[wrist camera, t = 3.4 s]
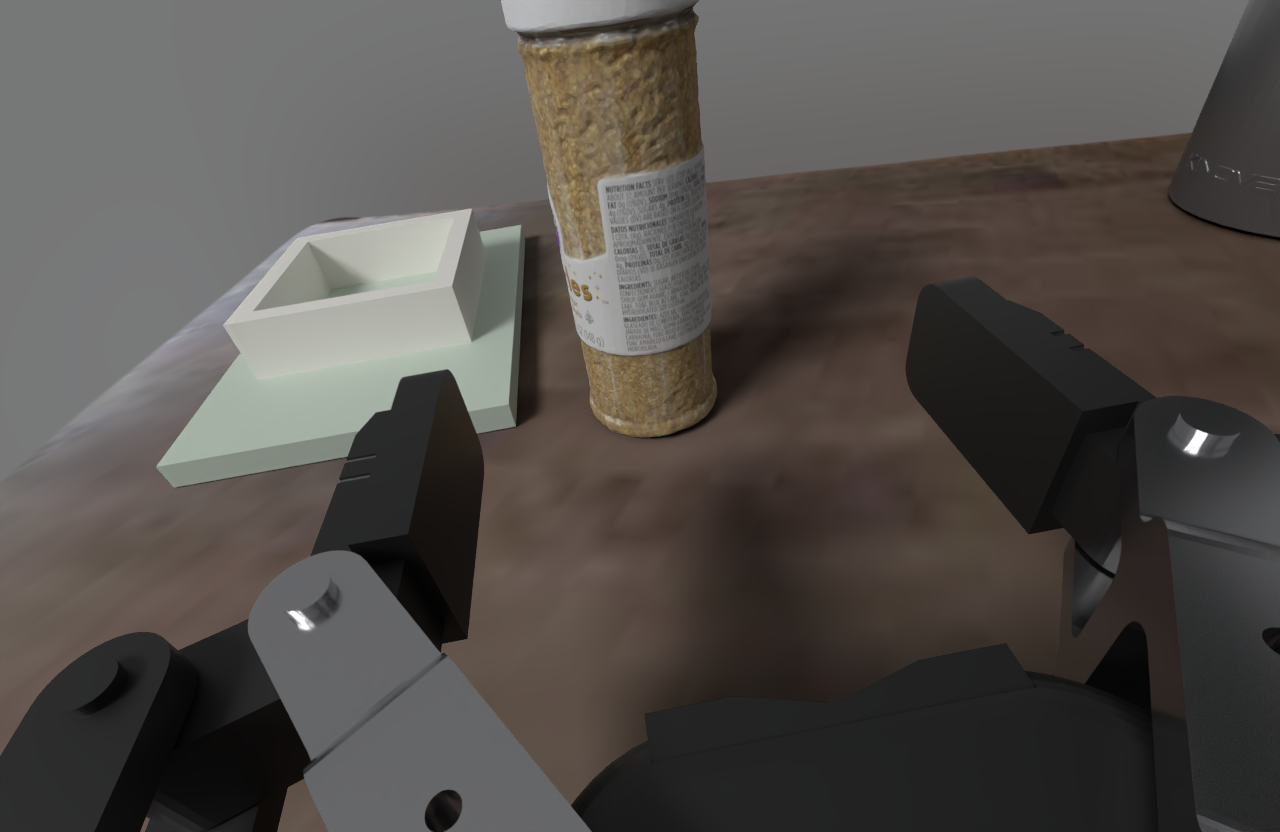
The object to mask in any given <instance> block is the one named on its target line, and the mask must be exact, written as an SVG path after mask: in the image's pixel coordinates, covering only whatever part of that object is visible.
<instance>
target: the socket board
mask: <svg viewBox="0 0 1280 832" xmlns="http://www.w3.org/2000/svg"><path fill="white" fill-rule="evenodd" d="M524 257H525V239H524V235H523V231H522V227H521V225H518V226H512V227H506V228H500V229H494V230H488V231H482V232H479V230H478V226H477V223H476V220H475V216H474V213H473V210H472V209H466V210H460V211H454V212H448V213H442V214H436V215H430V216H424V217H419V218H413V219H407V220H401V221H395V222H389V223H383V224H377V225H371V226H365V227H359V228H353V229H347V230H341V231H335V232H329V233H324V234H318V235H312V236H306V237H300V238H296V239H295V240H294V242H293V243H292V244H291V245H290V246H289V247H288V249H287V250H286V251H285V252H284V253H283V255H282V256H281V257H280V258H279V259H278V261H277V262H276V263H275V264H274V265H273V266H272V268H271V269H270V270H269V271H268V272H267V274H266V275H265V276H264V277H263V278H262V280H261V281H260V282H259V283H258V284H257V286H256V287H255V288H254V289H253V290H252V291H251V293H250V294H249V295H248V296H247V297H246V299H245V300H244V301H243V302H242V303H241V305H240V306H239V307H238V308H237V309H236V311H235V312H234V313H233V314H232V315H231V316H230V318H229V319H228V320H227V321H226V322H225V324H224V325H223V326H224V328H225V329H226V331H227V332H228V334H229V335H230V337H231V338H232V340H233V342H234V343H235V345H236V346H237V348H238V349H239V351H240V352H241V353H240V354H239V356H238V357H237V358H236V360H235V361H234V362H233V364H232V365H231V366H230V368H229V369H228V370H227V372H226V373H225V374H224V376H223V377H222V378H221V380H220V381H219V383H218V384H217V385H216V387H215V388H214V389H213V391H212V392H211V393H210V395H209V396H208V397H207V399H206V400H205V401H204V403H203V404H202V405H201V407H200V408H199V410H198V411H197V412H196V414H195V415H194V416H193V418H192V419H191V420H190V422H189V423H188V424H187V426H186V427H185V428H184V430H183V431H182V433H181V434H180V435H179V437H178V438H177V439H176V441H175V442H174V443H173V445H172V446H171V447H170V449H169V450H168V451H167V453H166V454H165V455H164V457H163V458H162V460H161V461H160V462H159V464H158V465H157V466H156V468H157V469H158V470H159V471H160V472H161V473H162V474H163V476H164V477H165V478H166V479H167V480H168V481H169V482H170V484H171V485H172V486H173V487H174V488H175V487H180V486H186V485H192V484H197V483H203V482H208V481H214V480H220V479H225V478H231V477H236V476H242V475H248V474H253V473H259V472H264V471H270V470H276V469H281V468H287V467H293V466H298V465H304V464H309V463H315V462H321V461H326V460H332V459H337V458H343V457H348V454H349V451H350V448H351V446H352V443H353V440H354V438H355V435H356V434H357V433H358V432H359V431H360V429H361V428H362V427H363V426H364V425H365V424H366V423H367V422H368V421H369V419H370V418H371V417H372V416H373V415H374V414H375V413H376V412H381V411H386V410H391V407H392V404H393V400H394V397H395V394H396V391H397V388H398V385H399V382H400V380H401V378H403V377H406V376H412V375H417V374H423V373H428V372H434V371H440V370H445V369H448V370H450V371H451V372H452V374H453V376H454V377H455V380H456V382H457V384H458V387H459V390H460V392H461V395H462V397H463V400H464V402H465V405H466V407H467V410H468V413H469V415H470V418H471V420H472V423H473V425H474V428H475V430H476V433H483V432H489V431H494V430H500V429H505V428H511V427H516V415H517V395H518V376H519V356H520V336H521V316H522V296H523V277H524Z"/></svg>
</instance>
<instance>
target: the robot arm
mask: <svg viewBox="0 0 1280 832" xmlns="http://www.w3.org/2000/svg"><path fill="white" fill-rule="evenodd" d="M1168 195H1169V196H1170V198H1171V199H1172V201H1173V202H1174V203H1175V204H1177V205H1178V206H1179V207H1181V208H1182V209H1184V210H1186V211H1188V212H1190V213H1192V214H1194V215H1196V216H1198V217H1200V218H1203V219H1206V220H1209V221H1212V222H1215V223H1218V224H1221V225H1224V226H1228V227H1232V228H1236V229H1240V230H1244V231H1248V232H1254V233H1259V234H1265V235H1270V236H1275V237H1280V0H1249V1H1248V3H1247V5H1246V8H1245V10H1244V13H1243V15H1242V17H1241V20H1240V22H1239V24H1238V27H1237V29H1236V31H1235V34H1234V36H1233V38H1232V41H1231V43H1230V45H1229V48H1228V50H1227V52H1226V55H1225V57H1224V59H1223V62H1222V64H1221V66H1220V69H1219V71H1218V73H1217V76H1216V78H1215V81H1214V83H1213V85H1212V88H1211V90H1210V92H1209V94H1208V97H1207V99H1206V101H1205V103H1204V106H1203V108H1202V110H1201V113H1200V115H1199V118H1198V120H1197V122H1196V125H1195V127H1194V129H1193V132H1192V134H1191V136H1190V139H1189V141H1188V143H1187V146H1186V148H1185V150H1184V153H1183V155H1182V158H1181V160H1180V162H1179V165H1178V167H1177V169H1176V172H1175V174H1174V176H1173V179H1172V181H1171V183H1170V186H1169V191H1168ZM906 377H907V381H908V385H909V388H910V390H911V392H912V394H913V396H914V397H915V398H916V399H917V401H918V402H919V403H920V404H921V405H922V407H923V408H924V409H925V410H926V411H927V413H928V414H929V415H930V416H931V417H932V419H933V420H934V421H935V422H936V423H937V425H938V426H939V427H940V428H941V429H942V431H943V432H944V433H945V434H946V435H947V437H948V438H949V439H950V440H951V441H952V443H953V444H954V445H955V446H956V447H957V449H958V450H959V451H960V452H961V453H962V455H963V456H964V457H965V458H966V460H967V461H968V462H969V463H970V464H971V466H972V467H973V468H974V469H975V470H976V472H977V473H978V474H979V475H980V476H981V478H982V479H983V480H984V481H985V482H986V484H987V485H988V486H989V487H990V488H991V490H992V491H993V492H994V493H995V494H996V496H997V497H998V498H999V499H1000V500H1001V502H1002V503H1003V504H1004V505H1005V506H1006V508H1007V509H1008V510H1009V511H1010V512H1011V514H1012V515H1013V516H1014V517H1015V518H1016V520H1017V521H1018V522H1019V523H1020V524H1021V526H1022V527H1023V528H1024V529H1025V530H1026V532H1027V533H1028V534H1033V533H1038V532H1043V531H1048V530H1054V529H1059V528H1064V529H1065V530H1066V531H1067V532H1068V533H1069V534H1070V535H1071V538H1070V540H1069V542H1068V544H1067V546H1066V548H1065V552H1064V566H1063V585H1062V604H1061V623H1060V642H1059V654H1058V659H1057V664H1056V668H1055V671H1054V674H1053V676H1052V675H1047V674H1041V673H1035V672H1028V671H1024V670H1023V668H1022V667H1021V665H1020V664H1019V662H1018V661H1017V659H1016V658H1015V656H1014V655H1013V653H1012V652H1011V650H1010V649H1009V647H1008V646H1007V644H1006V643H1005V644H999V645H994V646H989V647H984V648H979V649H974V650H969V651H964V652H958V653H953V654H948V655H943V656H938V657H933V658H928V659H923V660H918V661H916V662H914V663H912V664H910V665H908V666H907V667H905V668H903V669H901V670H899V671H897V672H895V673H893V674H891V675H889V676H887V677H886V678H884V679H882V680H880V681H878V682H876V683H874V684H872V685H870V686H868V687H866V688H865V689H863V690H861V691H859V692H857V693H855V694H853V695H851V696H849V697H847V698H845V699H843V700H840V701H837V702H812V701H797V700H782V699H767V698H752V697H738V696H733V697H728V698H723V699H718V700H713V701H708V702H703V703H698V704H692V705H687V706H682V707H677V708H672V709H667V710H662V711H657V712H651V713H646V714H645V721H646V728H647V735H648V741H646V742H644V743H642V744H640V745H638V746H636V747H635V748H633V749H631V750H629V751H628V752H626V753H625V754H624V755H622V756H621V757H619V758H618V759H616V760H615V761H613V762H612V763H611V764H610V765H609V766H607V767H606V768H605V769H604V770H603V771H602V772H601V773H600V774H598V775H597V776H596V777H595V778H594V779H593V780H592V781H591V782H590V783H589V785H588V786H587V787H586V788H585V789H584V790H583V791H582V792H581V794H580V795H579V796H578V797H577V798H576V800H575V801H574V802H573V804H572V805H571V806H570V804H569V803H568V802H567V801H566V800H565V798H564V797H563V796H562V795H561V793H560V792H559V791H558V790H557V789H556V787H555V786H554V785H553V784H552V782H551V781H550V780H549V779H548V777H547V776H546V775H545V774H544V773H543V771H542V770H541V769H540V768H539V766H538V765H537V764H536V763H535V762H534V760H533V759H532V758H531V757H530V755H529V754H528V753H527V752H526V751H525V749H524V748H523V747H522V746H521V744H520V743H519V742H518V741H517V740H516V738H515V737H514V736H513V735H512V733H511V732H510V731H509V730H508V728H507V727H506V726H505V725H504V724H503V722H502V721H501V720H500V719H499V717H498V716H497V715H496V714H495V713H494V711H493V710H492V709H491V708H490V706H489V705H488V704H487V703H486V702H485V700H484V699H483V698H482V697H481V695H480V694H479V693H478V692H477V691H476V689H475V688H474V687H473V686H472V684H471V683H470V682H469V681H468V680H467V678H466V677H465V676H464V675H463V673H462V672H461V671H460V670H459V669H458V667H457V666H456V665H455V664H454V663H453V661H452V660H451V659H450V658H449V657H448V656H447V655H446V654H445V653H443V654H441V647H442V644H443V643H448V642H453V641H459V640H464V639H467V637H468V627H469V617H470V608H471V598H472V588H473V578H474V568H475V558H476V548H477V539H478V529H479V519H480V509H481V499H482V489H483V480H484V461H483V454H482V449H481V445H480V441H479V438H478V436H477V433H476V430H475V428H474V425H473V423H472V420H471V418H470V415H469V413H468V410H467V407H466V405H465V402H464V400H463V397H462V395H461V392H460V390H459V387H458V384H457V382H456V380H455V377H454V376H453V374H452V372H451V371H450V370H448V369H445V370H440V371H434V372H428V373H423V374H417V375H412V376H406V377H403V378H401V380H400V382H399V385H398V388H397V391H396V394H395V397H394V400H393V404H392V407H391V410H386V411H381V412H376V413H375V414H374V415H373V416H372V417H371V418H370V419H369V421H368V422H367V423H366V424H365V425H364V426H363V427H362V428H361V429H360V431H359V432H358V433H357V434H356V435H355V438H354V440H353V443H352V446H351V448H350V451H349V454H348V457H347V463H345V465H344V467H343V470H342V473H341V475H340V478H339V479H340V483H339V484H337V486H336V489H335V492H334V494H333V497H332V500H331V502H330V505H329V508H328V510H327V513H326V516H325V518H324V521H323V524H322V526H321V529H320V532H319V535H318V537H317V540H316V543H315V545H314V548H313V551H312V553H311V556H310V557H308V558H306V559H304V560H301V561H299V562H298V563H296V564H294V565H292V566H291V567H289V568H288V569H286V570H285V571H284V572H282V573H281V574H280V575H279V576H277V577H276V578H275V579H274V580H273V581H272V582H271V583H270V584H269V585H268V586H267V587H266V588H265V589H264V591H263V592H262V593H261V595H260V596H259V597H258V599H257V600H256V602H255V604H254V606H253V608H252V610H251V613H250V616H249V619H247V620H245V621H243V622H241V623H239V624H237V625H234V626H232V627H230V628H228V629H225V630H223V631H221V632H219V633H216V634H214V635H212V636H210V637H207V638H205V639H203V640H201V641H198V642H196V643H194V644H192V645H189V646H187V647H185V648H183V649H180V650H177V649H176V648H174V647H173V646H172V645H171V644H170V643H169V642H167V641H166V640H165V639H164V638H163V637H161V636H159V635H157V634H155V633H150V632H137V633H131V634H126V635H123V636H120V637H117V638H114V639H112V640H109V641H107V642H105V643H103V644H101V645H99V646H97V647H95V648H93V649H92V650H90V651H88V652H87V653H85V654H84V655H82V656H80V657H79V658H78V659H76V660H75V661H74V662H72V663H71V664H70V665H68V666H67V667H66V668H65V669H64V670H62V671H61V672H60V673H59V674H58V675H57V676H56V677H55V678H54V679H53V680H52V681H51V682H50V683H49V684H48V685H47V686H46V687H45V688H44V689H43V691H42V692H41V693H40V694H39V695H38V697H37V698H36V700H35V701H34V702H33V704H32V705H31V707H30V708H29V710H28V712H27V713H26V715H25V716H24V718H23V720H22V721H21V723H20V725H19V726H18V728H17V730H16V731H15V733H14V735H13V736H12V738H11V739H10V741H9V743H8V744H7V746H6V748H5V749H4V751H3V753H2V754H1V756H0V832H140V830H141V828H142V825H143V823H144V820H145V818H146V817H148V818H150V820H149V823H148V826H147V828H146V831H145V832H277V829H278V825H279V821H280V817H281V813H282V809H283V805H284V801H285V797H286V793H287V788H288V787H289V786H291V785H293V784H295V783H297V782H299V781H300V780H302V779H304V778H305V781H306V784H307V787H308V789H309V791H310V794H311V796H312V798H313V800H314V802H315V804H316V806H317V808H318V810H319V812H320V815H321V817H322V819H323V821H324V823H325V825H326V827H327V829H328V831H329V832H1280V434H1273V433H1272V431H1270V430H1269V429H1268V428H1267V427H1266V426H1265V425H1263V424H1262V423H1261V422H1259V421H1258V420H1256V419H1255V418H1253V417H1251V416H1249V415H1247V414H1246V413H1243V412H1241V411H1239V410H1237V409H1235V408H1232V407H1229V406H1226V405H1224V404H1220V403H1217V402H1213V401H1209V400H1205V399H1200V398H1193V397H1183V396H1167V397H1159V398H1156V397H1155V396H1153V395H1152V394H1151V393H1149V392H1148V391H1147V390H1145V389H1144V388H1142V387H1141V386H1140V385H1138V384H1137V383H1136V382H1134V381H1133V380H1131V379H1130V378H1129V377H1127V376H1126V375H1125V374H1123V373H1122V372H1121V371H1119V370H1118V369H1116V368H1115V367H1114V366H1112V365H1111V364H1110V363H1108V362H1107V361H1106V360H1104V359H1103V358H1101V357H1100V356H1099V355H1097V354H1096V353H1095V352H1093V351H1092V350H1091V349H1089V348H1088V349H1084V344H1082V343H1081V342H1080V341H1078V340H1077V339H1076V338H1074V337H1073V336H1071V335H1070V334H1064V330H1063V329H1062V328H1061V327H1059V326H1058V325H1056V324H1055V323H1054V322H1052V321H1051V320H1050V319H1048V318H1047V317H1045V316H1044V315H1043V314H1041V313H1039V312H1037V311H1034V310H1032V309H1029V308H1027V307H1024V306H1022V305H1019V304H1017V303H1014V302H1012V301H1009V300H1006V299H1005V298H1003V297H1002V296H1001V295H999V294H998V293H997V292H995V291H994V290H993V289H991V288H990V287H989V286H987V285H986V284H985V283H983V282H982V281H981V280H979V279H978V278H975V277H969V278H963V279H958V280H952V281H946V282H941V283H935V284H930V285H927V286H925V287H924V288H923V289H922V290H921V292H920V294H919V297H918V301H917V306H916V312H915V317H914V322H913V328H912V333H911V338H910V343H909V349H908V354H907V359H906Z"/></svg>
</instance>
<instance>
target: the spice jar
mask: <svg viewBox="0 0 1280 832" xmlns="http://www.w3.org/2000/svg"><path fill="white" fill-rule="evenodd" d="M698 1H699V0H501V3H502V7H503V12H504V16H505V21H506V25H507V27H508V28H510V29H511V30H513V31H515V32H517V33H518V35H519V38H518V42H517V43H518V45H517V50H518V51H519V53H520V54H521V56H522V59H523V62H524V65H525V74H526V79H527V84H528V90H529V93H530V96H531V102H532V110H533V114H534V117H535V121H536V128H537V133H538V139H539V143H540V147H541V151H542V156H543V161H544V168H545V170H546V175H547V181H548V183H547V187H548V193H549V199H550V204H551V208H552V213H553V218H554V223H555V228H556V233H557V238H558V243H559V248H560V253H561V258H562V263H563V267H564V272H565V276H566V281H567V285H568V290H569V295H570V300H571V305H572V310H573V315H574V320H575V325H576V329H577V332H578V334H579V336H580V338H581V343H582V348H583V355H584V359H585V363H586V368H587V373H588V377H589V383H590V387H591V390H590V405H591V408H592V410H593V412H594V415H595V416H596V418H597V419H598V420H599V421H600V422H601V423H602V424H604V425H605V426H607V427H608V428H609V429H610V430H612V431H614V432H617V433H621V434H624V435H628V436H632V437H655V436H664V435H669V434H672V433H675V432H677V431H680V430H683V429H686V428H688V427H690V426H692V425H694V424H696V423H698V422H699V421H700V420H701V419H703V418H704V417H705V416H707V415H708V413H709V412H710V410H711V409H712V407H713V406H714V403H715V399H716V396H717V384H716V380H715V378H714V375H713V373H712V363H711V335H710V326H709V323H710V320H711V290H710V266H709V243H708V222H707V201H706V181H705V160H704V146H703V143H702V141H701V128H700V109H699V102H698V76H697V62H696V46H695V37H694V31H695V28H696V25H697V22H698V16H697V15H696V14H695V13H694V11H693V6H694V5H695V4H696V3H697V2H698Z"/></svg>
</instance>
